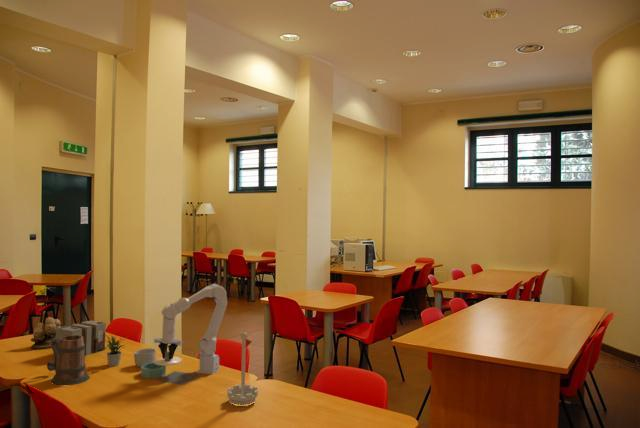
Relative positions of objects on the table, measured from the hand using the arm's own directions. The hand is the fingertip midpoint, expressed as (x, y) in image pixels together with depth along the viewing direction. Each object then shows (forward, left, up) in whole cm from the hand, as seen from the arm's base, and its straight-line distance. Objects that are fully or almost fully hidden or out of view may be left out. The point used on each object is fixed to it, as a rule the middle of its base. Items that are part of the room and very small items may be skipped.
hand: (167, 358), depth 240 cm
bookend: (+67, -17, -9) cm, 70 cm away
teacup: (+21, -12, -9) cm, 26 cm away
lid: (0, 0, -1) cm, 1 cm away
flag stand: (-47, +16, -9) cm, 51 cm away
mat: (-6, 0, -9) cm, 11 cm away
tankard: (+43, +18, -9) cm, 48 cm away
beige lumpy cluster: (+95, -22, -9) cm, 98 cm away
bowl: (+8, 0, -9) cm, 12 cm away
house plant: (+38, -6, -9) cm, 39 cm away
